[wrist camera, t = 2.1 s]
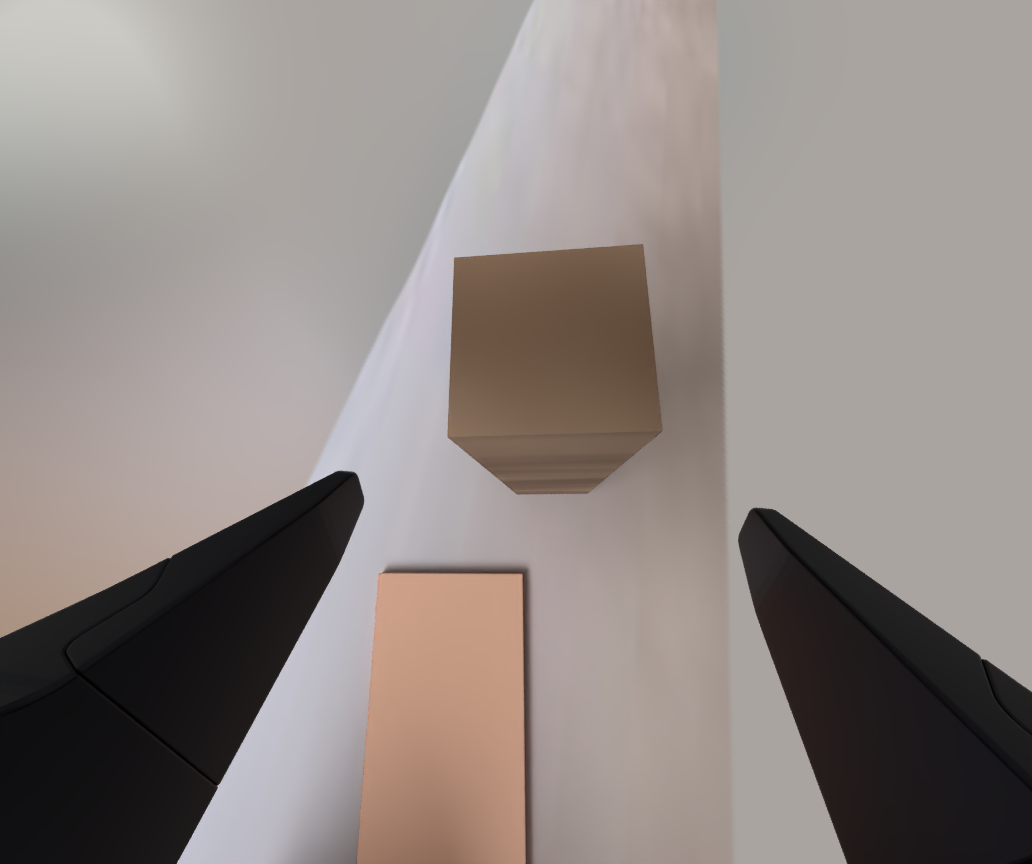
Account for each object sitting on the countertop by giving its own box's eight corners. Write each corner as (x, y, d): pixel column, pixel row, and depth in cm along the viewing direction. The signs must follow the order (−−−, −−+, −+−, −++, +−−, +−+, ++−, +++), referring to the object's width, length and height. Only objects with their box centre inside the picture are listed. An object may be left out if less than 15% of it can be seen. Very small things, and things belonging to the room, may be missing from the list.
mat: (526, 888, 15) (525, 898, 15) (359, 875, 16) (355, 884, 15) (522, 573, 18) (522, 574, 18) (382, 572, 19) (378, 573, 18)
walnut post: (587, 493, 19) (662, 430, 6) (517, 494, 19) (447, 436, 6) (583, 425, 19) (642, 244, 7) (516, 427, 20) (454, 258, 7)
